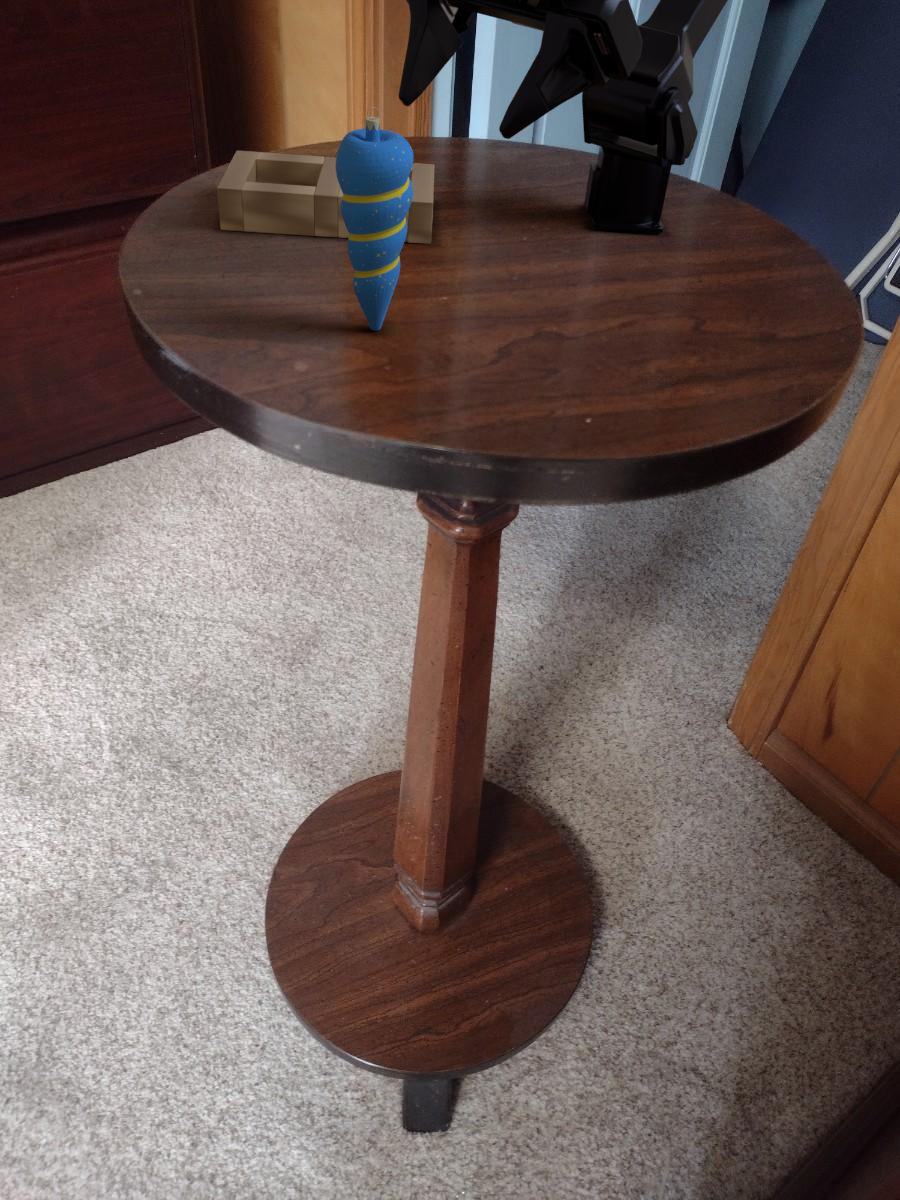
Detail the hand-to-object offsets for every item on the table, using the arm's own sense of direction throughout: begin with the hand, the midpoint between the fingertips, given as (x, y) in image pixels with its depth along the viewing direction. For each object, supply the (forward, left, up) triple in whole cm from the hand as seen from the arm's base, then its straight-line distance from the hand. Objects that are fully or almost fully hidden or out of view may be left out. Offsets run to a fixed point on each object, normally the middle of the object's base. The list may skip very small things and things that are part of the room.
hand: (451, 118), depth 67 cm
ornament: (+5, +7, -13) cm, 15 cm away
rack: (+10, -15, -13) cm, 22 cm away
